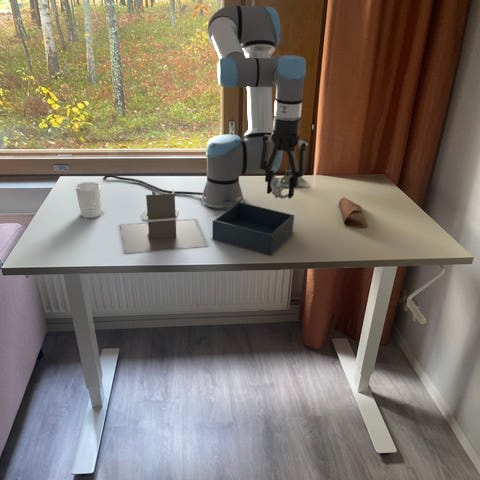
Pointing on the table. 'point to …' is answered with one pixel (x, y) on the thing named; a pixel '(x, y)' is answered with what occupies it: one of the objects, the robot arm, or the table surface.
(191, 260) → the table surface
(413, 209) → the table surface
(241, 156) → the robot arm
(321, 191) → the table surface
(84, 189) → the white cup
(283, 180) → the eiffel tower figurine
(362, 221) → the sunglasses case
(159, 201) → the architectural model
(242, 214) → the tote
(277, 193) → the soldier figure
